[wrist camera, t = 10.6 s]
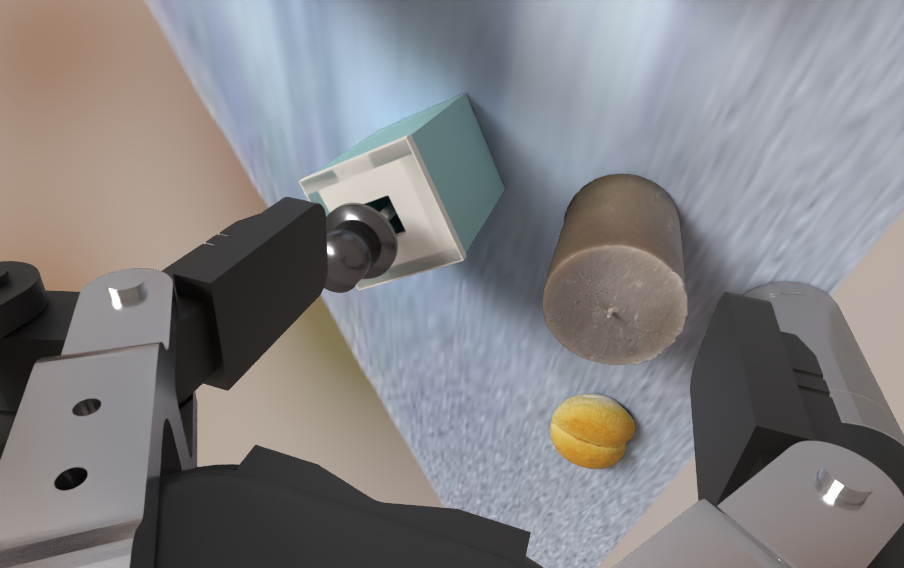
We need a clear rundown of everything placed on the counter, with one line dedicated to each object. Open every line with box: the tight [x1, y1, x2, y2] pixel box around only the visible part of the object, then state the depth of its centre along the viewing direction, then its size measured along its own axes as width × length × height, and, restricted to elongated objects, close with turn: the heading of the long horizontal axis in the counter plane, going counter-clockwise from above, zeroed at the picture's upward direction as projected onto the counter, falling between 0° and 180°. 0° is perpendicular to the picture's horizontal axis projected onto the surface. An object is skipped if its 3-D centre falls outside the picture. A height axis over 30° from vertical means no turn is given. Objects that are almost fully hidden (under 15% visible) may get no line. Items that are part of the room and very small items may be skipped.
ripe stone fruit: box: [550, 394, 635, 469], centre depth 60 cm, size 8×9×4 cm
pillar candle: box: [542, 174, 688, 365], centre depth 44 cm, size 10×10×15 cm
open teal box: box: [299, 93, 505, 290], centre depth 47 cm, size 9×11×14 cm
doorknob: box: [324, 202, 398, 293], centre depth 42 cm, size 6×6×18 cm
